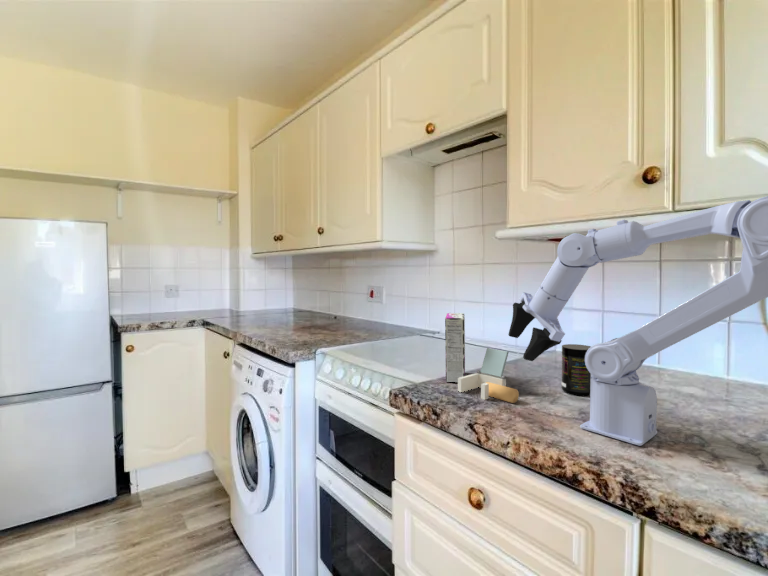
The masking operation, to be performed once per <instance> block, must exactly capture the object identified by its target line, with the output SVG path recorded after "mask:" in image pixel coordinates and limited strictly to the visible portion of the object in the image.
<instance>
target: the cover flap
mask: <svg viewBox="0 0 768 576" xmlns="http://www.w3.org/2000/svg"><path fill="white" fill-rule="evenodd" d="M508 357H509V351H506V350H500V349H495V348H490V347H487V348H486V351H485V354H484V358H483V362H482V365H481V368H480V371H481V373H484V374H488V375H492V376H496V377H500V378H501V376H504V372H505V371H504V370H505V368H506V364H507V360H508Z"/></svg>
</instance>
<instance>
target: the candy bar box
mask: <svg viewBox="0 0 768 576" xmlns="http://www.w3.org/2000/svg"><path fill="white" fill-rule="evenodd" d="M444 320H445V321H444V322H445V323H444V324H445V327H444V330H445V333H444V334H445V335H444V336H445V339H444V341H445V383H447V382H455V383H454V384H458V378H459V377H463V376H466V338H465V337H466V329H465V327H466V326H465V325H466V324H465V323H466V321H465V320H466V319H465V313H464V312H461V313H459V312H458V313H457V312H454V313H453V312H449V313H446V316H445V318H444Z"/></svg>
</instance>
